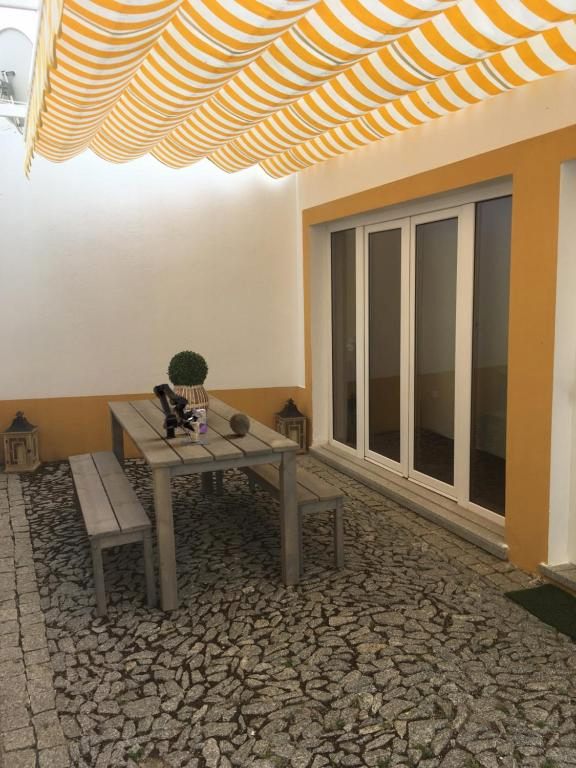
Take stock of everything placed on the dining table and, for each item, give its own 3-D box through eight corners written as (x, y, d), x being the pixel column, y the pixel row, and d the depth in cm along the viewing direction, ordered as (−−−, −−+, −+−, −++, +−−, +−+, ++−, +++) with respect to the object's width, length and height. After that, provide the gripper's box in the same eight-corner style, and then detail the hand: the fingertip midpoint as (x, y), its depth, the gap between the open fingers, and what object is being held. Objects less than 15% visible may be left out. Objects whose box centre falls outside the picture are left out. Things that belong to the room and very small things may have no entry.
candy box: (187, 434, 447) (186, 411, 445) (185, 433, 452) (184, 410, 450) (207, 432, 452) (206, 409, 450) (205, 431, 457) (204, 408, 455)
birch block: (193, 439, 426) (193, 422, 425) (199, 440, 425) (199, 422, 423) (190, 441, 422) (189, 423, 420) (196, 441, 421) (195, 423, 419)
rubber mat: (181, 441, 429) (181, 440, 429) (208, 439, 432) (208, 438, 432) (182, 445, 415) (182, 445, 415) (210, 444, 419) (210, 443, 419)
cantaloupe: (250, 432, 451) (249, 411, 449) (250, 436, 437) (249, 415, 435) (230, 433, 450) (229, 412, 448) (229, 437, 436) (228, 415, 434)
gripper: (180, 407, 413) (195, 425, 410) (196, 402, 430) (211, 419, 427) (170, 418, 418) (185, 436, 415) (187, 413, 435) (201, 430, 431)
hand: (196, 430), depth 422 cm, fingers closed on birch block, 4 cm apart
